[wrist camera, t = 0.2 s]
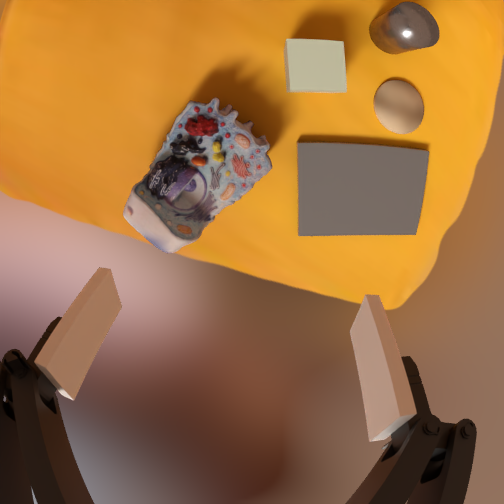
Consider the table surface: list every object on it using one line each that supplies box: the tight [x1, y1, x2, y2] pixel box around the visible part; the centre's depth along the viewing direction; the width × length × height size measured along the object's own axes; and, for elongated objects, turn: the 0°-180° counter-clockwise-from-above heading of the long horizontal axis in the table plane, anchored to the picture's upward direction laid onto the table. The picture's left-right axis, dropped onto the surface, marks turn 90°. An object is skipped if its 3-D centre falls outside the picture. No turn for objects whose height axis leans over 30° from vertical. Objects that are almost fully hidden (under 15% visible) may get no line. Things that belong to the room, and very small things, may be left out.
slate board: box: [297, 142, 429, 236], centre depth 37 cm, size 14×20×1 cm
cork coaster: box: [374, 80, 424, 134], centre depth 30 cm, size 8×8×1 cm
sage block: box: [284, 39, 347, 93], centre depth 26 cm, size 6×6×8 cm
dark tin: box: [369, 2, 439, 54], centre depth 20 cm, size 6×6×9 cm
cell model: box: [123, 98, 272, 253], centre depth 33 cm, size 13×11×20 cm
